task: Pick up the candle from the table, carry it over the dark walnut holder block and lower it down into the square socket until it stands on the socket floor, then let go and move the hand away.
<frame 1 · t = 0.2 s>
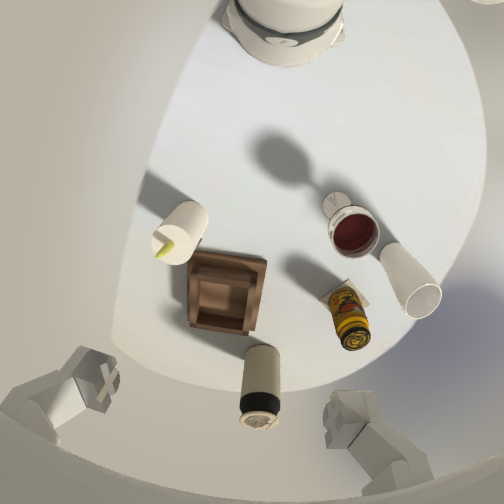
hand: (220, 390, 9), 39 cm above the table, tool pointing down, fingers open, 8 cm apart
candle holder: (224, 291, 55), on the table
drinking glass: (391, 253, 49), on the table
candle: (191, 218, 48), on the table
travel mug: (262, 354, 63), on the table
condiment: (344, 301, 54), on the table
wineglass: (336, 205, 45), on the table
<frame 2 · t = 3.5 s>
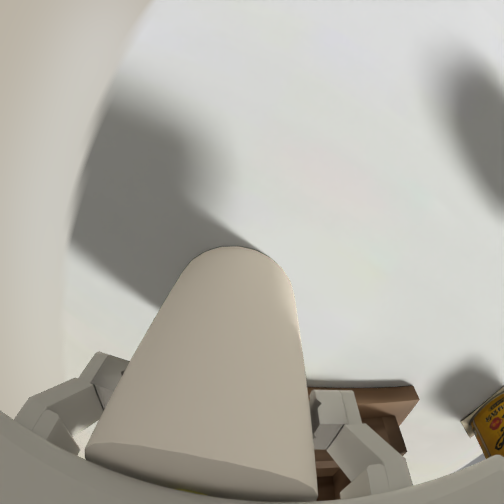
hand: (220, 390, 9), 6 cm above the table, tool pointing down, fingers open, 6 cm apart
candle holder: (301, 443, 20), on the table
candle: (236, 301, 15), on the table, touching gripper
condiment: (488, 410, 20), on the table
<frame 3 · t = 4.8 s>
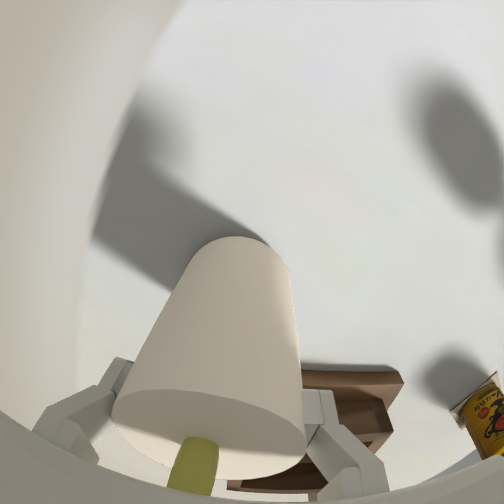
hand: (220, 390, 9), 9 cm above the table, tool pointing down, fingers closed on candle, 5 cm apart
candle holder: (297, 428, 22), on the table
candle: (239, 285, 17), on the table, touching gripper
condiment: (477, 401, 22), on the table
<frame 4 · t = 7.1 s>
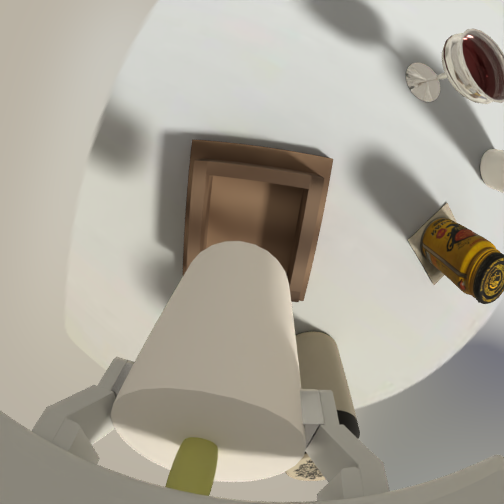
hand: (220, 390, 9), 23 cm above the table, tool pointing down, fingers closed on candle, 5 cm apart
candle holder: (252, 221, 30), on the table
drinking glass: (489, 168, 26), on the table
candle: (238, 290, 17), point 14 cm above the table, touching gripper
travel mug: (308, 351, 37), on the table
condiment: (439, 244, 30), on the table
wineglass: (423, 82, 23), on the table
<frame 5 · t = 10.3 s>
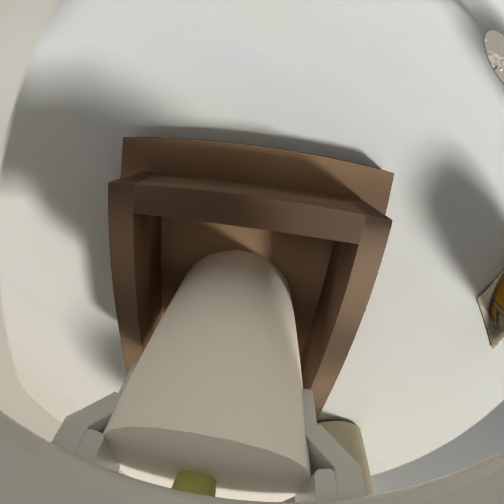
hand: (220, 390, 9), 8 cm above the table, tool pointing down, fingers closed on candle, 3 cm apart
candle holder: (240, 282, 17), on the table
candle: (237, 301, 16), point 1 cm above the table, touching candle holder, gripper
travel mug: (321, 436, 24), on the table
when the fingers open (8 cm above the table, at t = 10.4 s): candle stays where it is, resting on candle holder.
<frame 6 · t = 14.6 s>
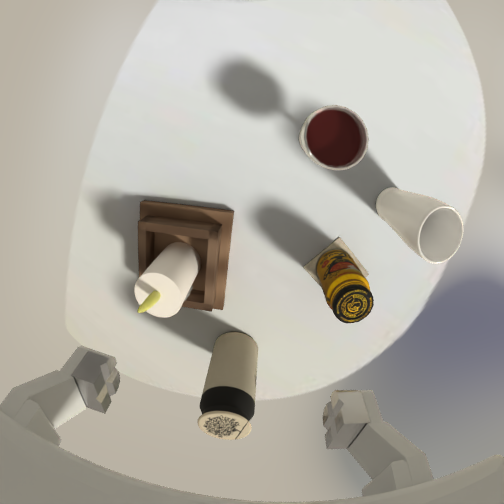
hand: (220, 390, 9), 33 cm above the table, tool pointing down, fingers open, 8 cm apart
candle holder: (184, 254, 44), on the table
drinking glass: (389, 203, 39), on the table
candle: (181, 261, 43), point 1 cm above the table, touching candle holder
travel mug: (236, 346, 50), on the table
condiment: (336, 269, 44), on the table
wineglass: (316, 139, 36), on the table
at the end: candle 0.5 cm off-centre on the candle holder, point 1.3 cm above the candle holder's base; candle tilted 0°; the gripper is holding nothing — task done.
